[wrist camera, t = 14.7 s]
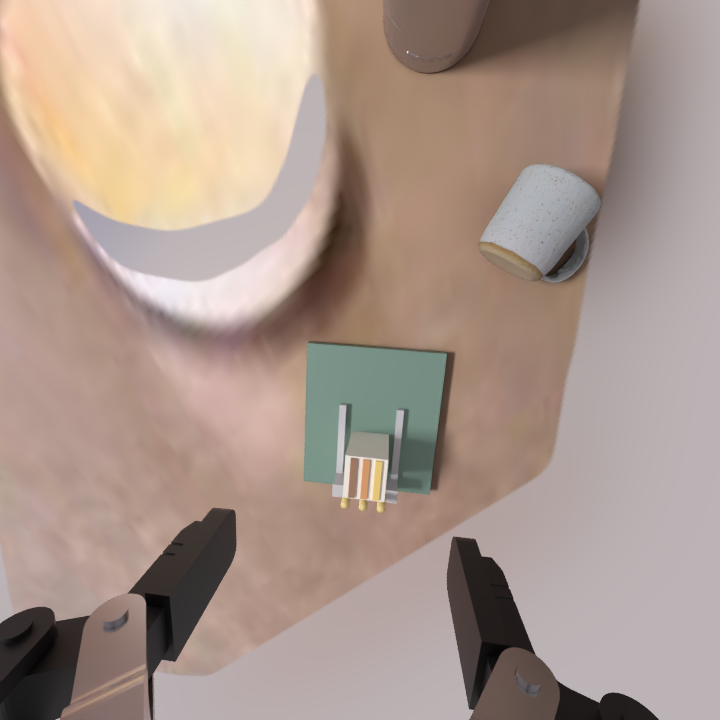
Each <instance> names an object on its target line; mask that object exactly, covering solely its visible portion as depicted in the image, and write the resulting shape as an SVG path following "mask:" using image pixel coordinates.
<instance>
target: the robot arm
mask: <svg viewBox="0 0 720 720" xmlns="http://www.w3.org/2000/svg"><path fill="white" fill-rule="evenodd" d="M489 2H490V0H383V12H384V28H385V35H386V38H387V42H388V45H389V46H390V48H391V50H392V52H393V54H394V55H395V56H396V57H397V59H398V60H399V61H400V62H401V63H402V64H404V65H405V66H407V67H408V68H410V69H412V70H415V71H417V72H424V73H432V72H439V71H442V70H445V69H447V68H449V67H451V66H452V65H454V64H456V63H457V62H458V61H459V60H460V59H462V58H463V57H464V56H465V55H466V54H467V52H468V51H469V49H470V48H471V47H472V45H473V44H474V42H475V39H476V37H477V35H478V33H479V30H480V28H481V25H482V22H483V19H484V16H485V13H486V10H487V7H488V5H489ZM235 551H236V515H235V511H234V510H230V509H222V508H212V509H211V510H210V512H209V513H208V514H207V515H206V517H205V518H204V519H203V520H202V522H201V521H195V522H193V523H192V524H190V525H189V526H187V527H186V528H184V529H183V530H181V532H180V533H179V534H178V535H177V536H176V537H175V539H174V540H173V541H172V542H171V545H169V546H168V547H167V548H166V549H165V550H164V551H163V554H162V555H160V556H159V557H158V559H157V560H156V561H155V562H154V563H153V564H152V566H151V567H150V568H149V569H148V570H147V571H146V573H145V574H144V575H143V576H142V577H141V578H140V580H139V581H138V582H137V583H136V584H135V586H134V587H133V588H132V589H131V590H130V591H129V593H128V594H123V595H120V596H117V597H114V598H112V599H110V600H108V601H107V602H105V603H104V604H102V605H101V606H100V607H98V608H97V609H96V610H95V611H94V612H93V613H92V614H91V615H90V616H85V617H79V618H73V619H67V620H62V621H55V615H54V612H53V611H52V610H51V609H50V608H47V607H35V608H31V609H27V610H24V611H22V612H19V613H17V614H15V615H13V616H11V617H9V618H8V619H6V620H5V621H3V622H2V623H1V624H0V720H55V719H58V718H60V720H155V709H154V675H153V673H154V671H155V670H156V668H157V666H158V665H159V663H160V662H161V660H168V661H174V662H175V661H176V660H177V658H178V656H179V654H180V653H181V651H182V649H183V647H184V646H185V644H186V642H187V640H188V639H189V637H190V635H191V633H192V632H193V630H194V628H195V626H196V625H197V623H198V621H199V619H200V618H201V616H202V614H203V612H204V611H205V609H206V607H207V605H208V604H209V602H210V600H211V598H212V597H213V595H214V593H215V591H216V590H217V588H218V586H219V584H220V583H221V581H222V579H223V577H224V576H225V574H226V572H227V570H228V569H229V567H230V565H231V563H232V561H233V558H234V555H235ZM447 590H448V596H449V602H450V607H451V613H452V618H453V623H454V629H455V634H456V640H457V645H458V651H459V657H460V662H461V667H462V673H463V678H464V683H465V689H466V695H467V700H468V706H469V709H472V710H474V711H473V714H472V716H471V718H470V719H469V720H659V719H658V718H657V717H656V716H655V715H654V714H653V713H652V712H651V711H649V710H648V709H647V708H646V707H645V706H643V705H642V704H640V703H639V702H637V701H636V700H634V699H632V698H630V697H628V696H626V695H623V694H620V693H608V694H606V695H604V696H603V697H602V699H601V701H600V703H598V702H596V701H594V700H592V699H590V698H588V697H586V696H584V695H581V694H580V693H577V692H575V691H573V690H571V689H569V688H567V687H566V686H564V685H563V684H561V683H560V682H558V681H557V680H556V679H555V677H554V675H553V673H552V672H551V670H550V669H549V668H548V667H547V665H546V664H545V663H544V662H543V661H542V660H541V659H540V658H538V657H537V656H536V655H535V652H534V650H533V648H532V645H531V642H530V640H529V638H528V635H527V632H526V630H525V627H524V624H523V622H522V619H521V617H520V614H519V612H518V609H517V607H516V604H515V602H514V600H513V596H512V594H511V591H510V589H509V586H508V583H507V581H506V578H505V576H504V573H503V571H502V570H501V568H500V567H499V566H498V565H497V564H496V562H495V561H494V560H493V559H492V558H490V557H482V556H481V554H480V551H479V548H478V545H477V542H476V540H475V539H470V538H461V537H453V539H452V543H451V550H450V557H449V564H448V570H447Z"/></svg>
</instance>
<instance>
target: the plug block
mask: <svg viewBox="0 0 720 720" xmlns="http://www.w3.org/2000/svg"><path fill="white" fill-rule="evenodd" d="M388 458H389V434H379V433H370V432H360V431H352V432H351V436H350V440H349V444H348V447H347V451H346V455H345V469H344V484H343V497H345V498H353V499H361V500H370V501H378V502H384V500H385V490H386V480H387V470H388Z"/></svg>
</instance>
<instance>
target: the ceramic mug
mask: <svg viewBox="0 0 720 720" xmlns="http://www.w3.org/2000/svg"><path fill="white" fill-rule="evenodd" d="M600 207H601V200H600V197H599V195H598V194H597V192H596V191H595V190H594V188H593V187H592V186H591V185H590V184H588V183H587V182H586V181H585V180H583V179H582V178H581V177H579V176H577V175H575V174H573V173H571V172H569V171H568V170H565V169H563V168H561V167H558V166H554V165H548V164H533V165H530V166H528V167H526V168H525V169H524V170H523V171H522V172H521V174H520V175H519V177H518V178H517V180H516V182H515V184H514V185H513V187H512V188H511V190H510V191H509V193H508V194H507V196H506V197H505V199H504V201H503V202H502V204H501V205H500V207H499V209H498V211H497V212H496V214H495V215H494V217H493V218H492V220H491V221H490V223H489V224H488V226H487V227H486V229H485V231H484V233H483V235H482V237H481V239H480V242H479V250H480V252H481V254H482V255H483V256H484V257H485V258H487V259H488V260H489V261H491V262H492V263H493V264H495V265H496V266H498V267H500V268H501V269H503V270H505V271H507V272H508V273H510V274H512V275H514V276H516V277H519V278H521V279H524V280H527V281H536V280H539V279H541V280H544V281H547V282H552V283H557V282H561V281H563V280H566V279H567V278H569V277H570V276H571V275H572V274H574V273H575V272H576V271H577V270H578V268H579V267H580V266H581V265H582V263H583V262H584V260H585V258H586V256H587V253H588V249H589V236H588V232H587V229H586V226H587V225H588V224H589V222H590V221H591V220H592V219H593V218H594V216H595V215H596V214H597V212H598V211H599V209H600ZM575 239H576V243H575V250H574V252H573V254H572V256H571V258H570V259H569V260H568V261H567V262H566V263H565V264H564V265H563V267H562V268H561V269H559V270H558V271H557V272H556V274H554V275H552V276H545V275H546V274H547V273H548V272H549V271H550V270H551V269H552V268H553V267H554V266H555V264H556V263H557V262H558V261H559V259H560V258H561V257H562V255H563V254H564V252H565V251H566V250H567V249H568V248H569V246H570V245H571V244H572V243H573V242H574V240H575Z"/></svg>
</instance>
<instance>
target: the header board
mask: <svg viewBox="0 0 720 720" xmlns="http://www.w3.org/2000/svg"><path fill="white" fill-rule="evenodd" d="M446 358H447V353H446V352H437V351H424V350H411V349H398V348H385V347H372V346H359V345H346V344H333V343H320V342H308V343H307V377H306V416H305V456H304V481H309V482H319V483H328V484H333V491H332V496H334V497H342V502H341V507H342V508H344V509H347V508H348V507H349V503H350V498H345V497H343V484H344V469H345V455H346V451H347V447H348V444H349V440H350V436H351V432H352V431H360V432H370V433H379V434H389V458H388V470H387V480H386V490H385V500H384V502H378V501H377V511H378V512H379V513H383V512H384V511H385V502H388V503H397V494H398V491H401V492H410V493H419V494H428V495H430V487H431V479H432V471H433V463H434V455H435V447H436V439H437V431H438V423H439V415H440V407H441V398H442V390H443V382H444V374H445V366H446ZM352 499H353V498H352ZM367 503H368V500H361V499H360V502H359V509H360V510H361V511H365V510H366V509H367Z"/></svg>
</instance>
